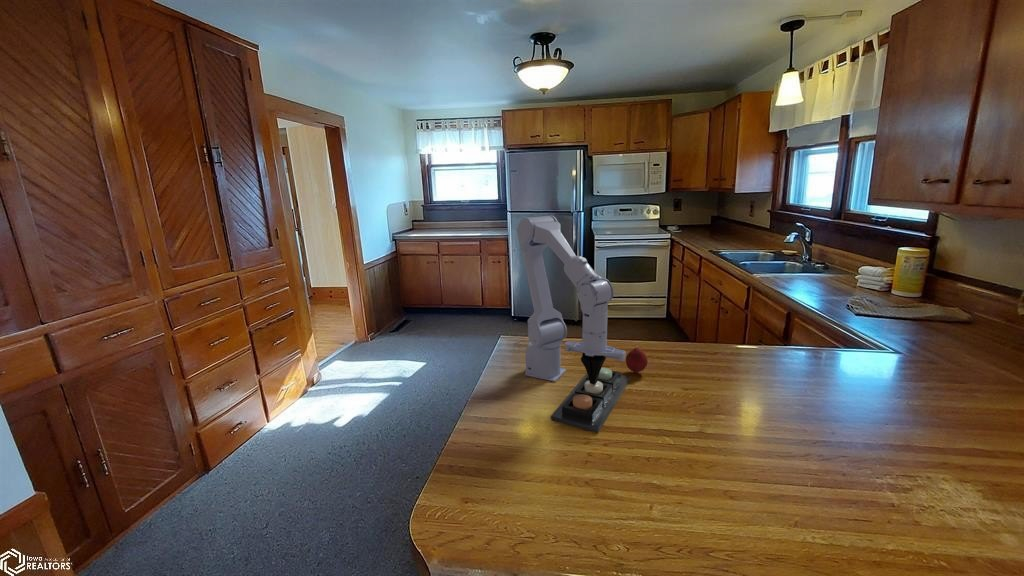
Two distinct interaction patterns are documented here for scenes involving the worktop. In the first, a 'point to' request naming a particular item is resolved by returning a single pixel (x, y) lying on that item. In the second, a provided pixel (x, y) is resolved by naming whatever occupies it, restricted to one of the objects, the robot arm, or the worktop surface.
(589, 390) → the button cream
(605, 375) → the button sage
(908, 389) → the worktop surface
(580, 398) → the button terracotta
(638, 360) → the onion
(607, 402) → the tray
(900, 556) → the worktop surface
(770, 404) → the worktop surface
